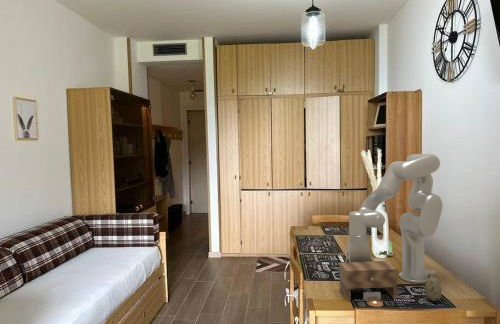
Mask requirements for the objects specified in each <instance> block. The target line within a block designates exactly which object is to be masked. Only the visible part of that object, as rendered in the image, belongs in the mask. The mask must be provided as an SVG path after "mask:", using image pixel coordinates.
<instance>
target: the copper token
mask: <svg viewBox="0 0 500 324" xmlns="http://www.w3.org/2000/svg"><path fill="white" fill-rule="evenodd" d="M383 302H384V301H383V299H382V298H381V299H380V298H377V297H369V298H367V300H366V304H367V305H368V306H369V307H374V308H381V307H383V305H384V303H383Z"/></svg>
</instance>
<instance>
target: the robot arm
mask: <svg viewBox="0 0 500 324" xmlns="http://www.w3.org/2000/svg"><path fill="white" fill-rule="evenodd" d="M440 166H441V160H440V158H439V157H438V156H437V155H435V154H432V153H412V154H410V155H408V156H407V157H406V160H404V161H400V160H398V161H397V160H396V161H393V162H391V163H390V164H389V166H388V167H387V169H386V171H385V173H384V175H383V177H382V179H381V180H380V183H379V185H378V186H377V187H376V189H374V190H373V191H372V192H370V194H369V195H367V197H366V198H365V199H364V201H363V202H362V204H361V205H360V208H359V210H358V211H357V210H356V211H355V210H354V211H350V212H349V213H348V221H349V222H348V225H349V226H348V228H349V229H348V232H349V240H348V239H347V243H346V249H345V251H346V252H345V253H346V254H345V257H346V258H345V261H344V263H345V262H371V261H372V259H371V250H370V246H369V241H368V239H370V235H369V234H367V228H371V229H372V228H382V227H383V226H384V225H385V222H386V218H385V216H384V214H383V213H381V212H380V211H378V210H377V208H378V206H380V205H381V204H382V203H383V202H386V201H388V200H391V199H392V198H394V197H396V196H397V193H398V192H399V190H400V188H401V185H402V184H403V182H404V180H405V181H412V185H411V189H410V192H409V196H408V200H407V205H408V207H409V208H410V209H412V210H414V211H416V212H420V213H416V212H405V213H403V214H402V215H400V217H399V223H398V224H399V225H398V226H399V228H400V233H401V254H402V255H401V262H402V263H401V264H402V265H401V266H402V271H400V272H398V277H399V278H400V279H402V280H403V281H405V282H409V283H415V284H423V283H426V282H427V280H428V279H429V275H435V274H436V271H435V270H434V269H431V270H430V269H429V268H425V241H424V238H425V239H427V238H431V237H432V236H434V235H435V233H436V231H437V229H438V226H439V223H440V219H441V215H442V211H443V201H442V199H441V197H440V196H439V195H438V194H436V193H433V192H432V191H433V184H434V178H433V175H432V174H433V173H435V172H437V171H438V169H440Z"/></svg>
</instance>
